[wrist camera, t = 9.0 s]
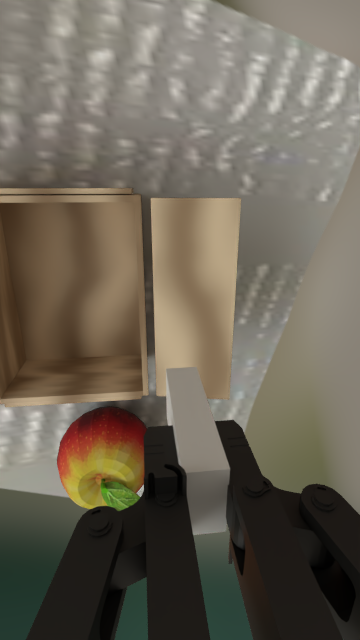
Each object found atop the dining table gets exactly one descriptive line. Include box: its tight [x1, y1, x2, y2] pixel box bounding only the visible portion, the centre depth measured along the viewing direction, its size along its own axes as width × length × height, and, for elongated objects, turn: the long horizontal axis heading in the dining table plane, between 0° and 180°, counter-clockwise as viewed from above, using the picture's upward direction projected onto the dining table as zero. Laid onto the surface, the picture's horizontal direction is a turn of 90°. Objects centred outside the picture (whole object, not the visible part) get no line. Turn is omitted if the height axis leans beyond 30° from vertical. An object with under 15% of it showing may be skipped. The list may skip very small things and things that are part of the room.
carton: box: [0, 188, 148, 407], centre depth 33 cm, size 14×19×8 cm
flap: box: [151, 198, 241, 400], centre depth 29 cm, size 7×18×1 cm, turn 0°
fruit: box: [57, 407, 147, 511], centre depth 39 cm, size 11×11×10 cm
